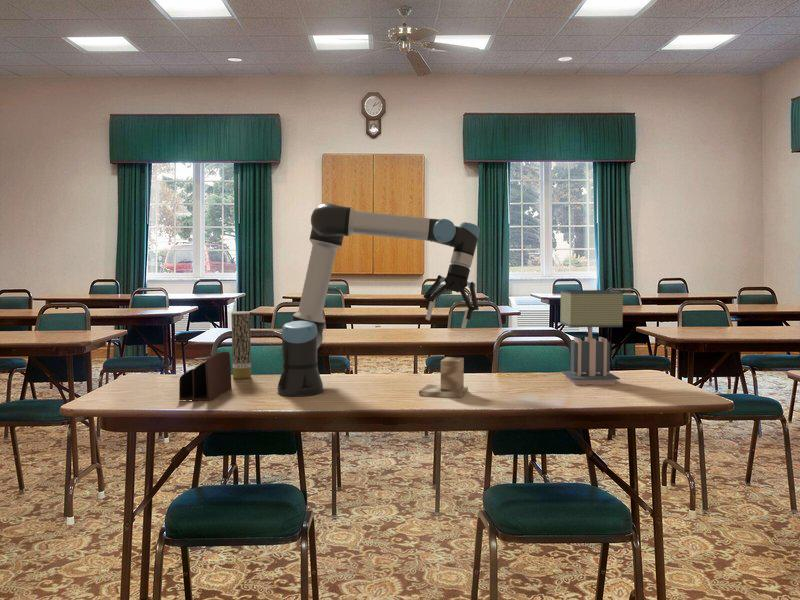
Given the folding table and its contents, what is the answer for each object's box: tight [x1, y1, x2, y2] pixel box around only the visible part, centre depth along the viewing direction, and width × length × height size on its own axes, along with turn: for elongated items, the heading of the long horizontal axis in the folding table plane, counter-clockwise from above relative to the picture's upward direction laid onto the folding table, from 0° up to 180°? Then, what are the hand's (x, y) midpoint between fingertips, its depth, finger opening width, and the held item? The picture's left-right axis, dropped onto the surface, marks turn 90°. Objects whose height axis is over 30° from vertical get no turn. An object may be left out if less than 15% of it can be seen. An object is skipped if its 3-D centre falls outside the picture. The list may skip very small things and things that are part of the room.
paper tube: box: [230, 310, 252, 380], centre depth 235 cm, size 7×7×25 cm
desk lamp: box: [559, 289, 624, 386], centre depth 224 cm, size 18×14×33 cm
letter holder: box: [178, 351, 232, 402], centre depth 206 cm, size 10×20×14 cm, turn 175°
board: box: [418, 384, 469, 399], centre depth 206 cm, size 14×11×2 cm
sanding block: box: [440, 356, 465, 392], centre depth 205 cm, size 6×8×10 cm
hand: (445, 324), depth 219 cm, fingers open, 13 cm apart
